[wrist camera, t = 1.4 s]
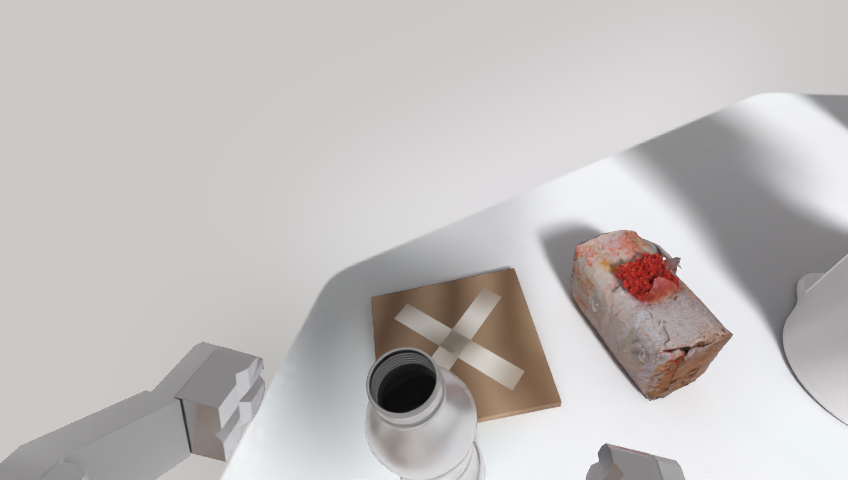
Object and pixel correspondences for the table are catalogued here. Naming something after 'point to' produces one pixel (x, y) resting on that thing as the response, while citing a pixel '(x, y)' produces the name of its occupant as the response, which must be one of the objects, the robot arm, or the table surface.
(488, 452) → the table surface
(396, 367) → the plastic bottle
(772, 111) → the table surface
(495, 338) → the brown board with cross
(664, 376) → the food item
